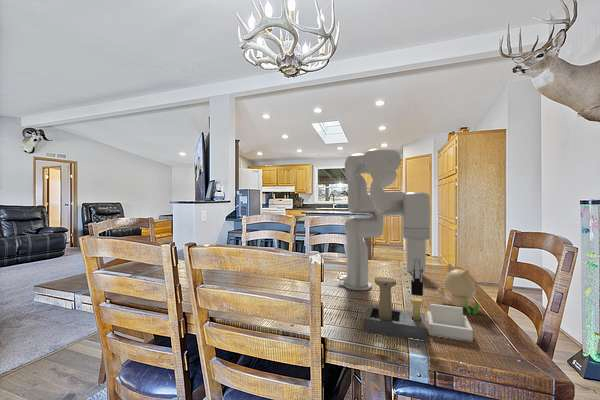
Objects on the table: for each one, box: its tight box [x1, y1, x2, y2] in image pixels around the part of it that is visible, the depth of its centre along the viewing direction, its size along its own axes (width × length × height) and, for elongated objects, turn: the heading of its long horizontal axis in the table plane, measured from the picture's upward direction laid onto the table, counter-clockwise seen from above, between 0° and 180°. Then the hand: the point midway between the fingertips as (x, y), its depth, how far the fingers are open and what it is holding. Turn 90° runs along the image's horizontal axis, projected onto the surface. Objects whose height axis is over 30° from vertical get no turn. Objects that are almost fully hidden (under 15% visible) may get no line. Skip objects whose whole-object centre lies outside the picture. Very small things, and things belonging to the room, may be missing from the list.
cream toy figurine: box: [437, 263, 479, 315], centre depth 103 cm, size 15×10×15 cm
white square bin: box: [426, 303, 474, 344], centre depth 84 cm, size 11×10×6 cm
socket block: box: [363, 305, 428, 342], centre depth 86 cm, size 17×10×4 cm, turn 69°
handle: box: [374, 276, 397, 320], centre depth 87 cm, size 5×6×15 cm
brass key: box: [410, 296, 423, 321], centre depth 83 cm, size 3×3×7 cm
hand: (417, 294), depth 83 cm, fingers closed
